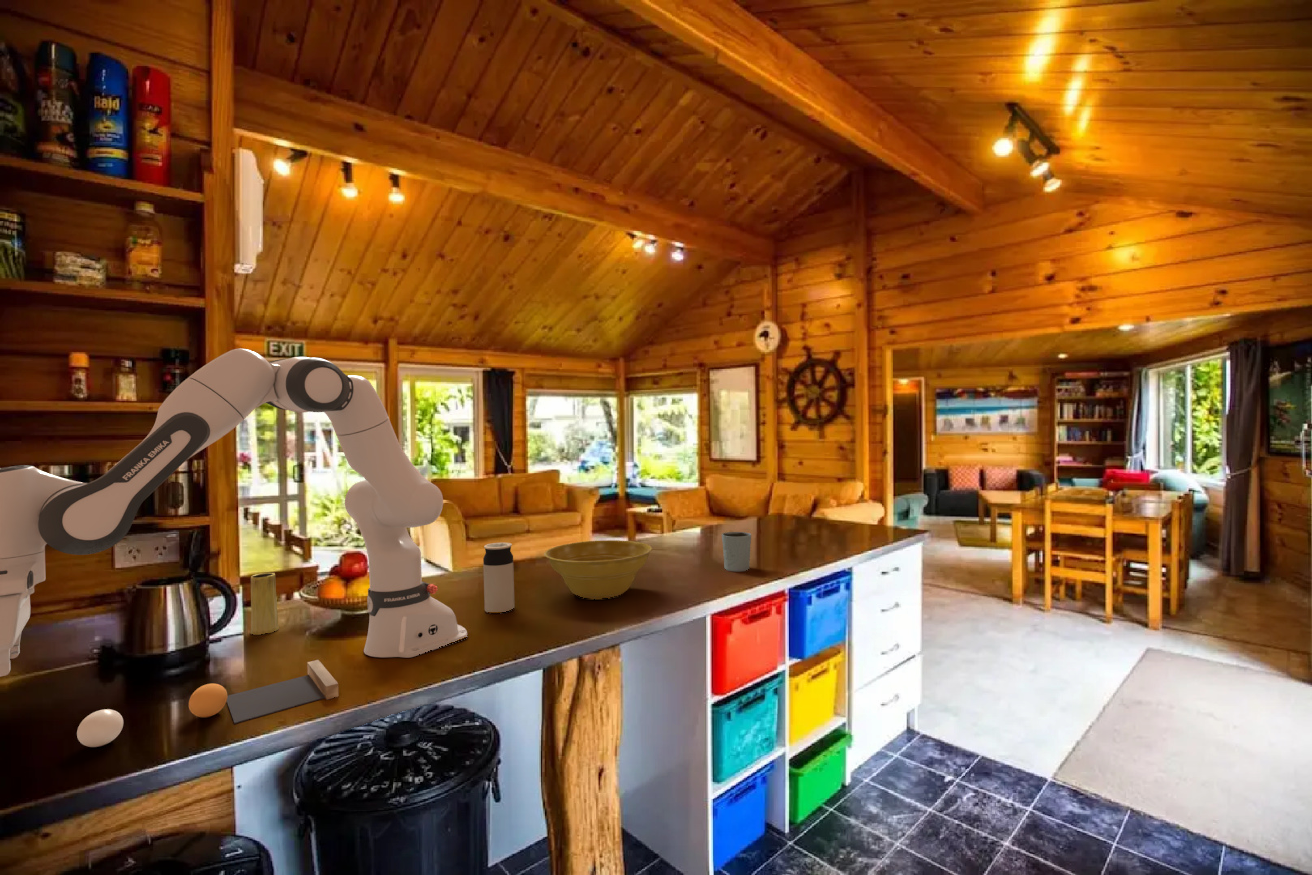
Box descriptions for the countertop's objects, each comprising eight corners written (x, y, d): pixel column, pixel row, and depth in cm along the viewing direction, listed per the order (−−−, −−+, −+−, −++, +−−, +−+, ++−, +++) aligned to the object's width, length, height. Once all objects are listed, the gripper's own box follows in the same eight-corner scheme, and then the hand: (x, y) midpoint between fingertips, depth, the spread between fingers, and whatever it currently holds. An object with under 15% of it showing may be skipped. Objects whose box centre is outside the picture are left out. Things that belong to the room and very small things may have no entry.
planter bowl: (545, 583, 191) (544, 542, 191) (644, 577, 197) (643, 536, 197) (545, 614, 159) (543, 564, 159) (662, 605, 165) (661, 557, 165)
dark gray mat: (308, 675, 122) (308, 674, 122) (325, 697, 112) (325, 696, 112) (225, 697, 113) (225, 696, 113) (234, 723, 102) (234, 722, 102)
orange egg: (226, 705, 109) (225, 675, 109) (229, 715, 105) (228, 684, 105) (188, 715, 106) (187, 684, 106) (190, 726, 102) (189, 694, 102)
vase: (269, 634, 148) (267, 577, 147) (244, 635, 148) (242, 578, 147) (284, 626, 154) (282, 571, 154) (260, 627, 154) (258, 572, 154)
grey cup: (719, 571, 203) (718, 536, 202) (725, 564, 212) (725, 530, 212) (749, 572, 199) (748, 537, 199) (754, 565, 209) (753, 531, 209)
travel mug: (499, 616, 159) (497, 548, 158) (478, 611, 163) (476, 546, 163) (520, 607, 166) (518, 543, 165) (500, 604, 170) (498, 541, 169)
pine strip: (318, 671, 124) (318, 659, 124) (338, 696, 112) (338, 683, 112) (307, 674, 123) (307, 662, 123) (326, 699, 111) (326, 686, 111)
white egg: (124, 732, 100) (122, 700, 100) (123, 744, 96) (122, 711, 96) (78, 744, 97) (77, 710, 96) (76, 757, 92) (75, 722, 92)
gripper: (-16, 566, 95) (-13, 653, 95) (-44, 591, 80) (-41, 693, 80) (41, 560, 99) (43, 643, 99) (24, 582, 84) (27, 680, 84)
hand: (6, 666), depth 89 cm, fingers open, 8 cm apart
